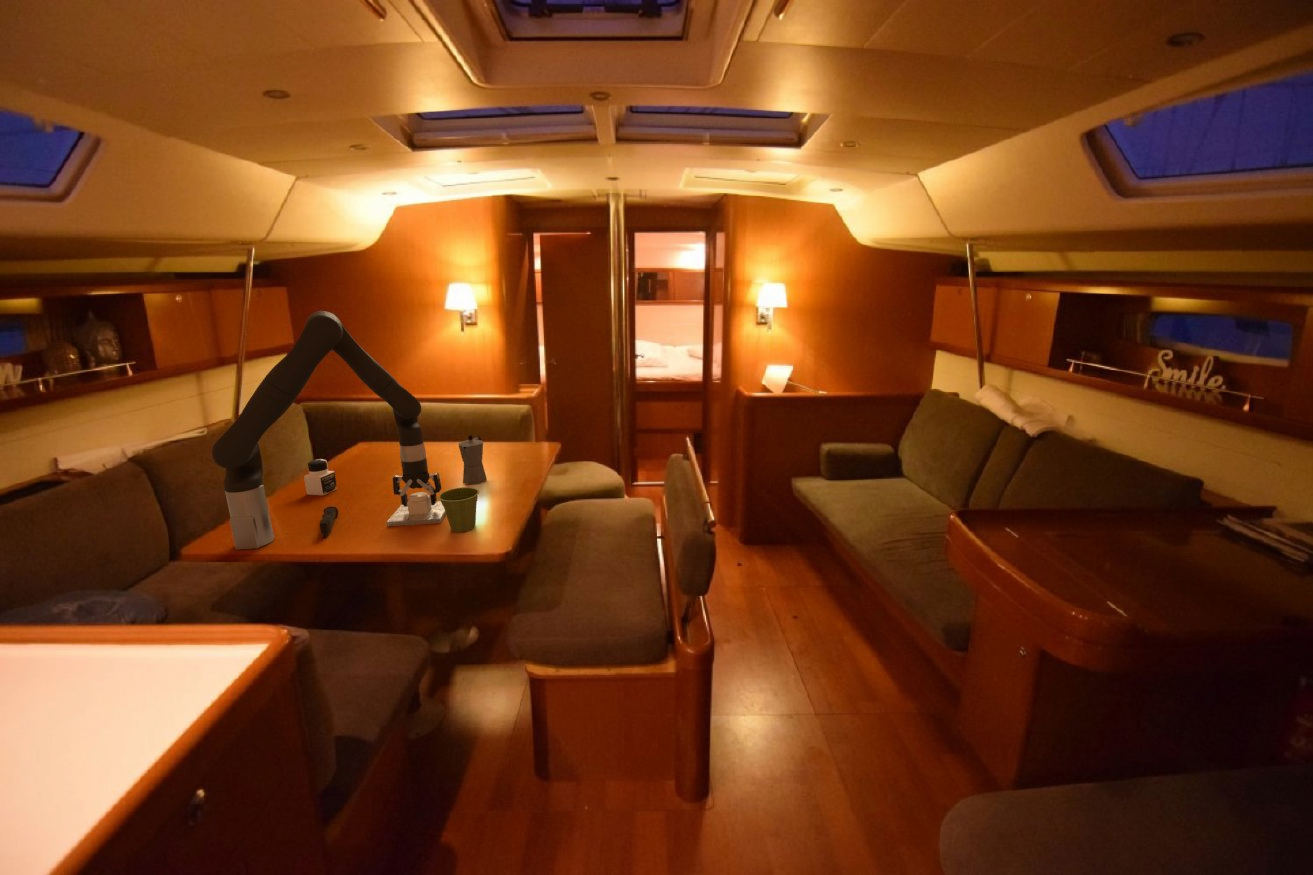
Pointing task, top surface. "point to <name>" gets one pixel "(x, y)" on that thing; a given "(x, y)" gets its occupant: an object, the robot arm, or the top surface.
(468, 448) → the coffeepot
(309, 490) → the medicine bottle
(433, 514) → the block
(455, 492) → the plant pot
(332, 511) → the hand tool
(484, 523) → the top surface
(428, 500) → the knob
